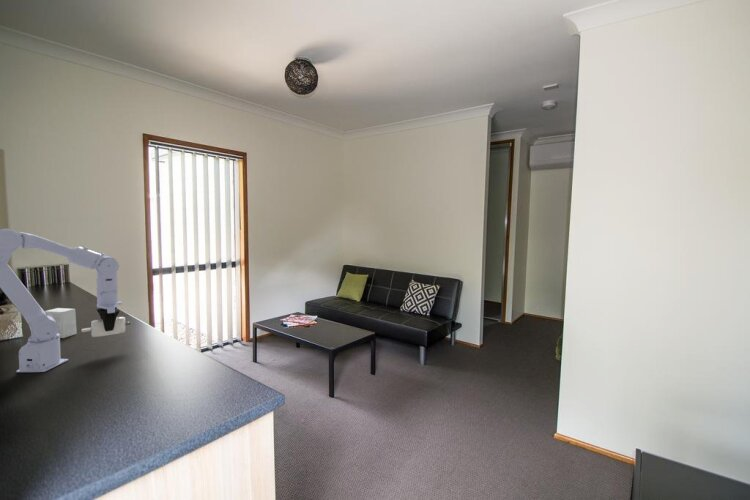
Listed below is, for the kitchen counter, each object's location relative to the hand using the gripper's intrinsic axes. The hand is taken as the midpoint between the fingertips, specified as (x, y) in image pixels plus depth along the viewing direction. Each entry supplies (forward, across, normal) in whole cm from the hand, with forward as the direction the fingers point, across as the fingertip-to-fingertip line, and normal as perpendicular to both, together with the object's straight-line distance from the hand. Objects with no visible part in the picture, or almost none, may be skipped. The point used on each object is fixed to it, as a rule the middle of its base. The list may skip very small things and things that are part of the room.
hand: (108, 329), depth 122 cm
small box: (+9, +34, +11) cm, 37 cm away
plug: (+2, 0, 0) cm, 2 cm away
